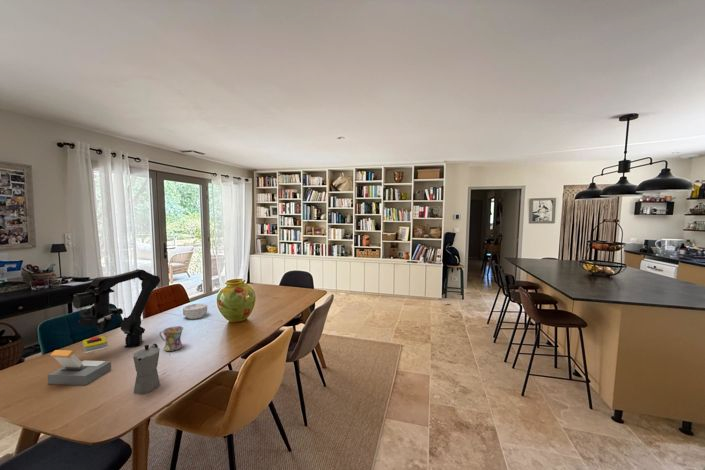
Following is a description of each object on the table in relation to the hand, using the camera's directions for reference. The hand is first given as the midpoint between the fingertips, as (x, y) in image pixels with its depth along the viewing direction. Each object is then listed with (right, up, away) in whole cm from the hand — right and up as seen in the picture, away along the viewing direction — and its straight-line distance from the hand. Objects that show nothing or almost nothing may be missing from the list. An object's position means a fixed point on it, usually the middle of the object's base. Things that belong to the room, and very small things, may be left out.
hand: (102, 333), depth 140 cm
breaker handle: (+4, -8, -18) cm, 20 cm away
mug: (+27, -12, +12) cm, 32 cm away
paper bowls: (+13, -10, +60) cm, 62 cm away
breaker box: (+6, -13, -17) cm, 22 cm away
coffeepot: (+39, -14, -22) cm, 48 cm away
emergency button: (-15, -12, +12) cm, 23 cm away
